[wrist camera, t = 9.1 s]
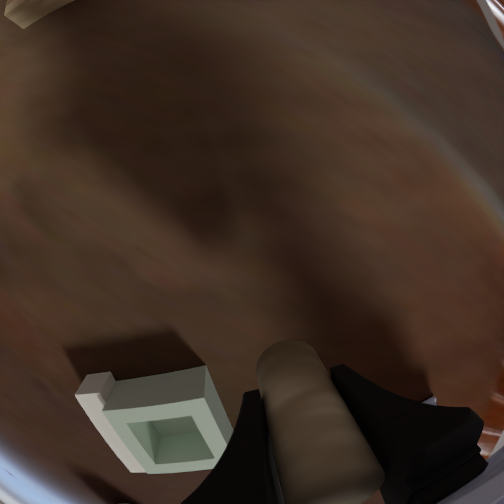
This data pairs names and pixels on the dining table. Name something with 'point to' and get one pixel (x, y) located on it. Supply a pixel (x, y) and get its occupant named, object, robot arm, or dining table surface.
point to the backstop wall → (93, 401)
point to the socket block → (170, 420)
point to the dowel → (313, 430)
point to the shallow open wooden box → (31, 10)
